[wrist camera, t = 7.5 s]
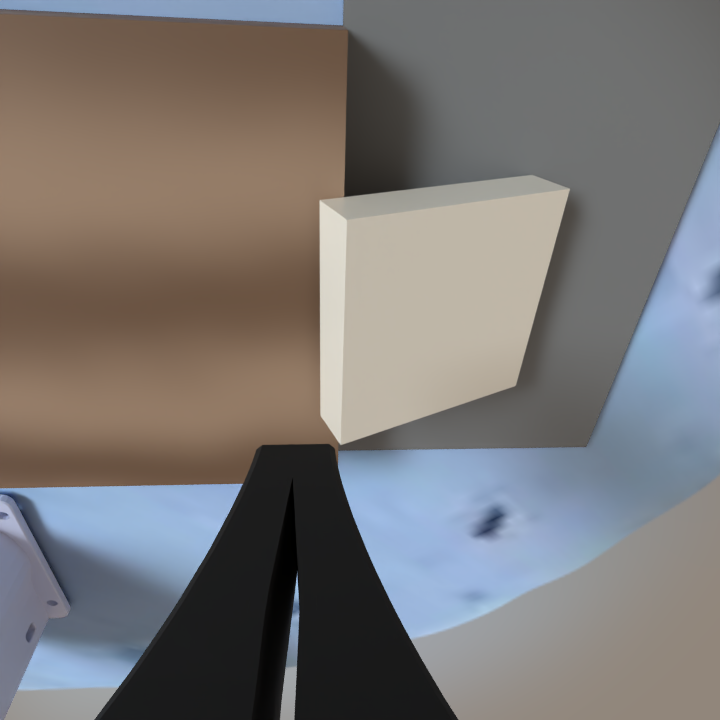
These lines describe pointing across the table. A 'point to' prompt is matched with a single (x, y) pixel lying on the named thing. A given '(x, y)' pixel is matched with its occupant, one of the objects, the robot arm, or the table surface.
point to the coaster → (429, 296)
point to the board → (162, 243)
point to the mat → (541, 168)
